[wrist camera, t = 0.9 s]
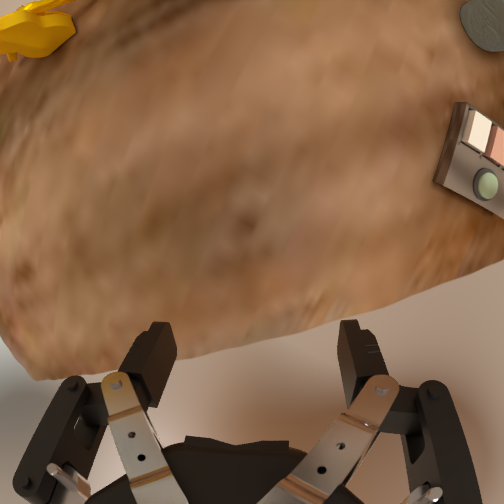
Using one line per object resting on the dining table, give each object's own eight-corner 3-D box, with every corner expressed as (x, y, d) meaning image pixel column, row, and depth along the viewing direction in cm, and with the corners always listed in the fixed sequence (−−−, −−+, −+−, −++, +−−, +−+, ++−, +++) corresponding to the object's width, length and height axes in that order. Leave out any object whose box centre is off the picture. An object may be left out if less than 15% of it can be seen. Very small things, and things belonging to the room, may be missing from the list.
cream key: (466, 110, 28) (475, 110, 26) (482, 121, 28) (491, 121, 26) (458, 140, 30) (468, 142, 28) (474, 150, 30) (484, 152, 28)
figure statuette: (99, -14, 26) (3, -60, 6) (111, 18, 28) (3, -25, 8) (21, 52, 29) (-79, 51, 9) (29, 86, 32) (-78, 94, 12)
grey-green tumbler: (464, 49, 26) (515, 37, 15) (447, -9, 22) (489, -34, 11) (508, 60, 25) (558, 56, 14) (493, 5, 21) (537, -10, 10)
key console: (455, 102, 30) (472, 102, 26) (514, 144, 30) (531, 149, 26) (432, 180, 35) (448, 187, 31) (493, 213, 35) (509, 222, 31)
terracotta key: (488, 125, 28) (498, 126, 26) (501, 135, 29) (511, 137, 26) (480, 154, 30) (490, 156, 28) (494, 163, 30) (504, 166, 28)
